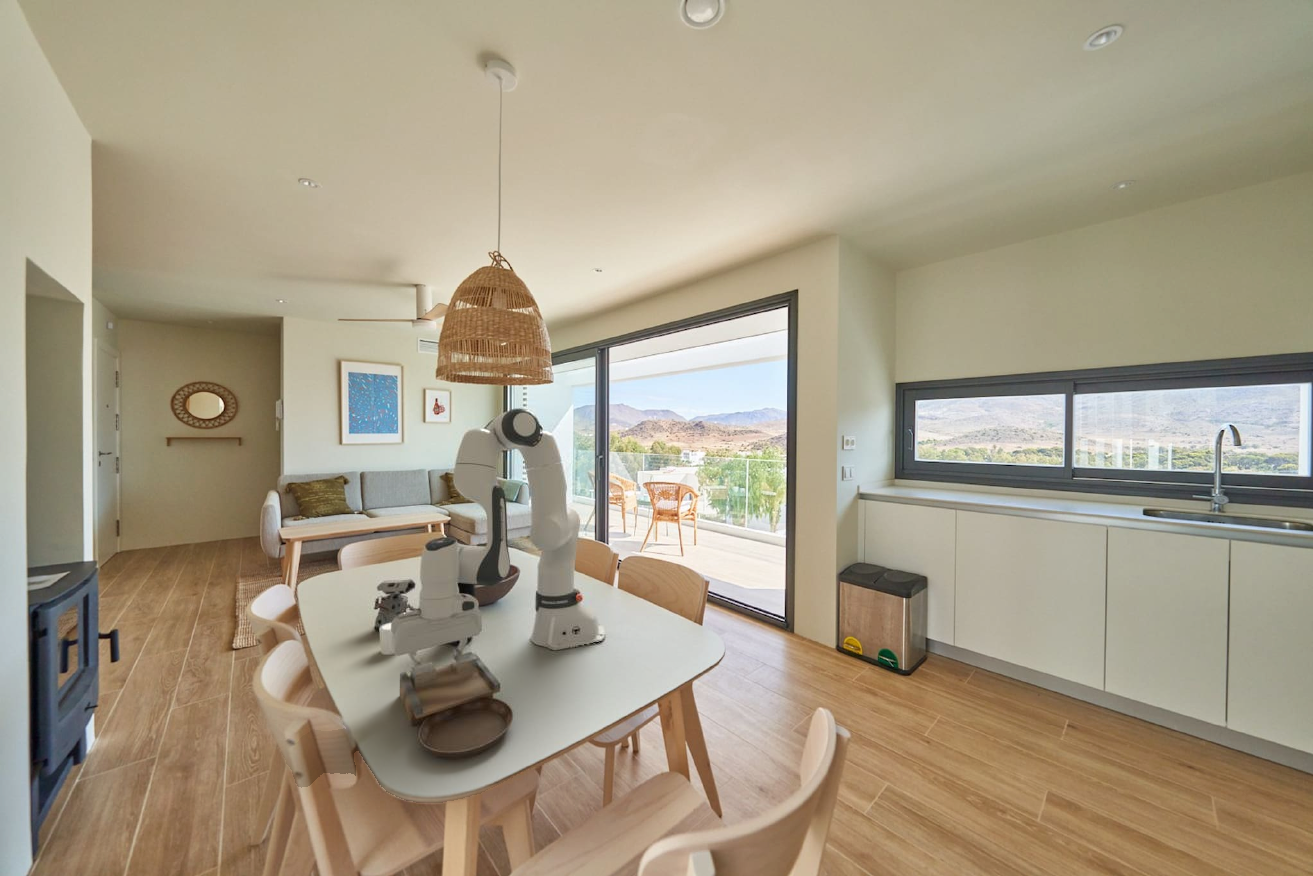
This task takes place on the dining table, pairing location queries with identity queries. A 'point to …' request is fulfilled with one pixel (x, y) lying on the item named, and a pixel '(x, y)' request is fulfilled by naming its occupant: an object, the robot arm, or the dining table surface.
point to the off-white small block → (423, 675)
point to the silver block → (464, 663)
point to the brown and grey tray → (446, 691)
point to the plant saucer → (466, 728)
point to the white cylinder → (386, 638)
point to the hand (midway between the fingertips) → (438, 662)
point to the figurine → (393, 600)
